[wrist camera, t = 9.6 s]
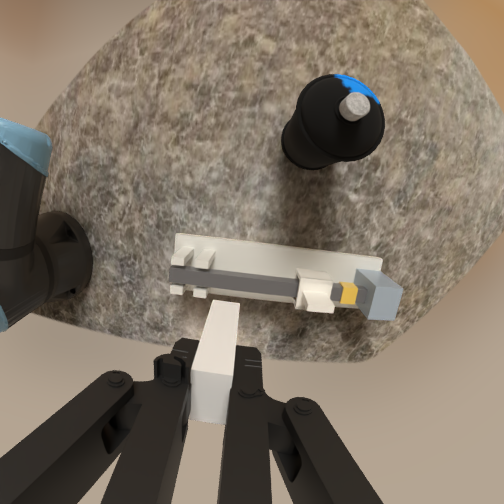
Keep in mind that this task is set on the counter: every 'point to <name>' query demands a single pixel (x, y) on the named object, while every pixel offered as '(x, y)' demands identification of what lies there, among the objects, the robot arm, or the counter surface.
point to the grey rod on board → (279, 273)
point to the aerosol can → (333, 123)
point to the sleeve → (313, 291)
